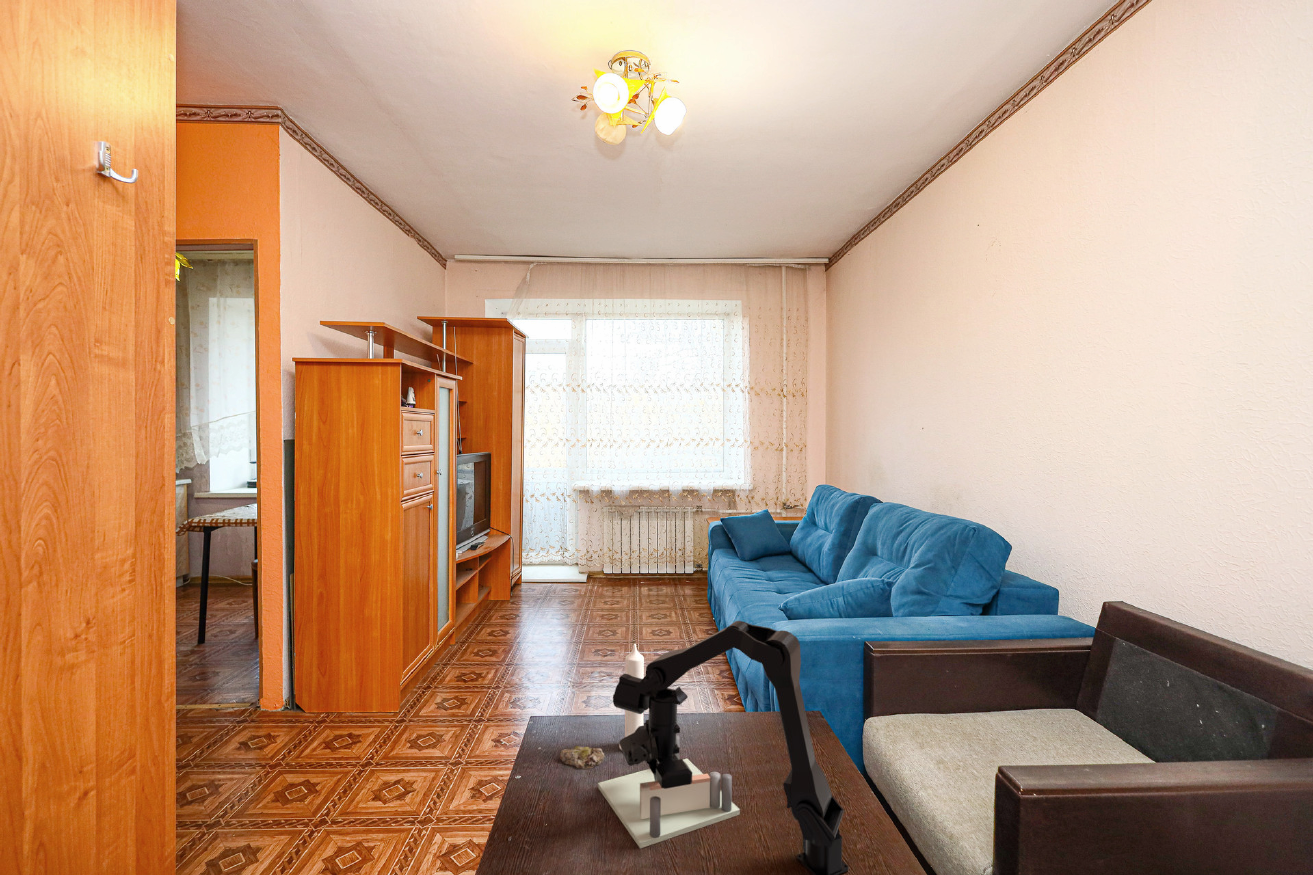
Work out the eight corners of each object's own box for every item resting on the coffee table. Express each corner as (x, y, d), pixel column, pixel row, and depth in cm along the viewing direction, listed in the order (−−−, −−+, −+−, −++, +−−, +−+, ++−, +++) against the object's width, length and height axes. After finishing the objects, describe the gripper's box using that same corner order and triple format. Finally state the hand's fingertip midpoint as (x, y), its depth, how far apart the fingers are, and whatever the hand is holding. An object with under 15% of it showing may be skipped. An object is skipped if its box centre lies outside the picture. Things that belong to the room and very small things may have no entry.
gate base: (740, 814, 118) (740, 776, 118) (640, 848, 108) (640, 807, 108) (687, 762, 137) (687, 730, 137) (598, 787, 127) (598, 752, 127)
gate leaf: (717, 800, 120) (718, 770, 120) (721, 806, 118) (722, 776, 118) (639, 812, 116) (639, 782, 116) (641, 819, 114) (642, 788, 114)
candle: (615, 742, 145) (615, 641, 145) (641, 736, 148) (642, 637, 148) (625, 756, 139) (626, 650, 139) (653, 750, 142) (653, 646, 142)
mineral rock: (608, 742, 142) (601, 749, 134) (608, 762, 140) (601, 771, 133) (565, 740, 143) (555, 748, 135) (564, 760, 142) (554, 769, 134)
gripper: (612, 703, 126) (610, 775, 126) (637, 749, 108) (635, 833, 108) (661, 696, 129) (660, 767, 129) (694, 740, 111) (692, 821, 112)
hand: (660, 795), depth 120 cm, fingers closed
